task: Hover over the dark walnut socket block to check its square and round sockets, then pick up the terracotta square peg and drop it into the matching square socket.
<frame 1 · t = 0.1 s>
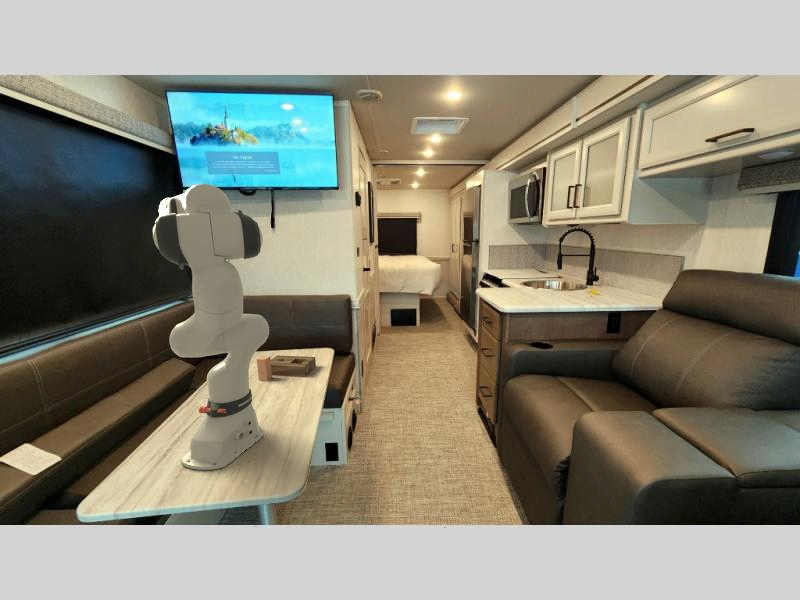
hand: (212, 265, 121), 52 cm above the table, tool tilted 20°, fingers open, 8 cm apart
square peg: (265, 378, 140), on the table
socket block: (290, 370, 149), on the table
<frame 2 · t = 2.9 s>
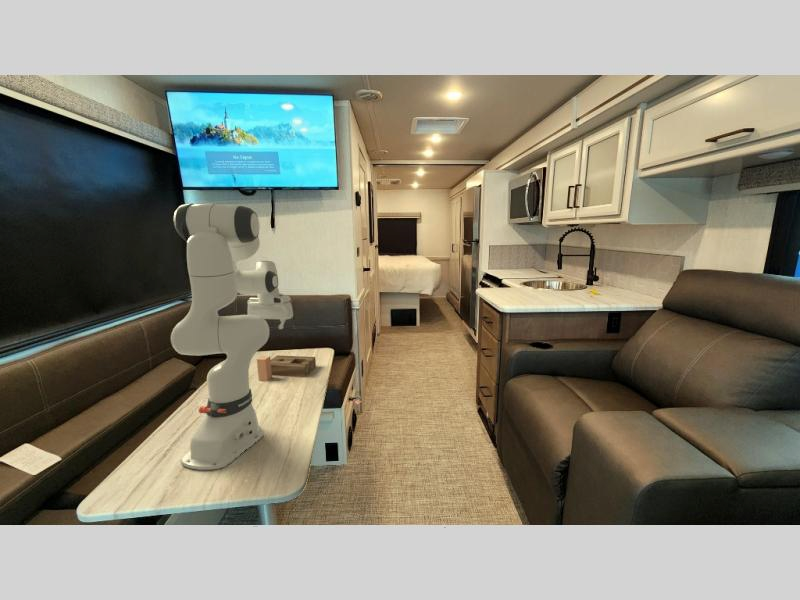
hand: (271, 328, 139), 23 cm above the table, tool pointing down, fingers open, 8 cm apart
nothing on the table moved.
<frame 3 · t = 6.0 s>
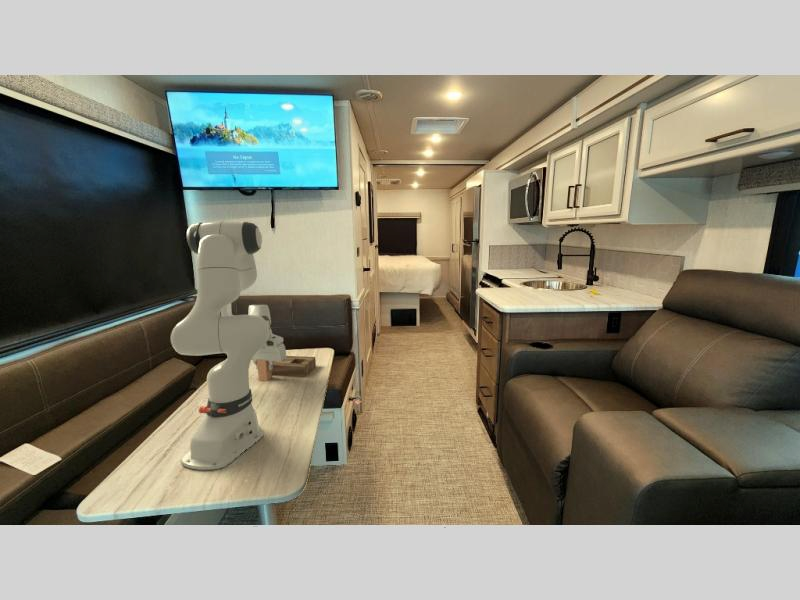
hand: (264, 369, 139), 5 cm above the table, tool pointing down, fingers closed on square peg, 4 cm apart
square peg: (265, 378, 140), on the table, touching gripper
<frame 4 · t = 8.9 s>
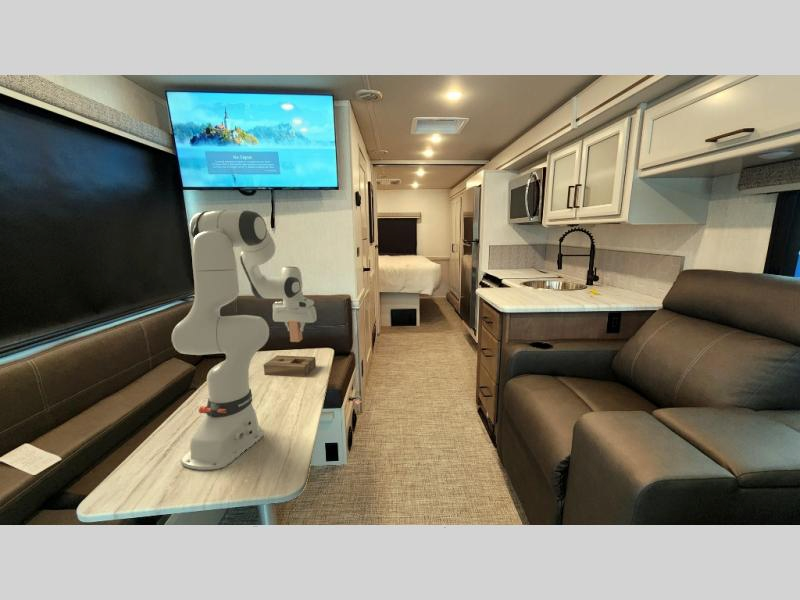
hand: (295, 331, 145), 20 cm above the table, tool pointing down, fingers closed on square peg, 4 cm apart
square peg: (296, 340, 146), point 15 cm above the table, touching gripper
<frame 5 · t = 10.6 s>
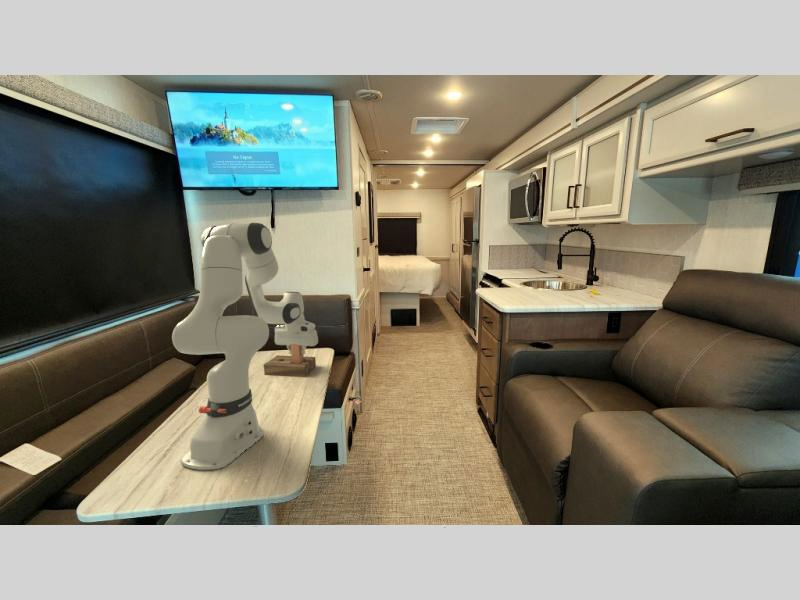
hand: (297, 353, 147), 9 cm above the table, tool pointing down, fingers closed on square peg, 4 cm apart
square peg: (298, 363, 148), point 4 cm above the table, touching gripper
when the fingers open (7 cm above the table, at t = 12.0 s): square peg drops 2 cm, resting on socket block.
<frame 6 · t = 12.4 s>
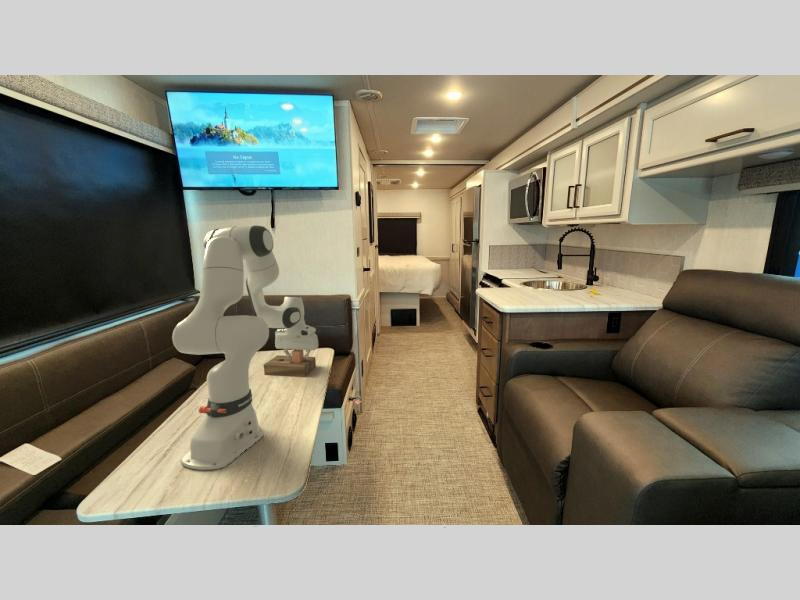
hand: (297, 357, 147), 7 cm above the table, tool pointing down, fingers open, 8 cm apart
square peg: (298, 370, 148), resting on socket block
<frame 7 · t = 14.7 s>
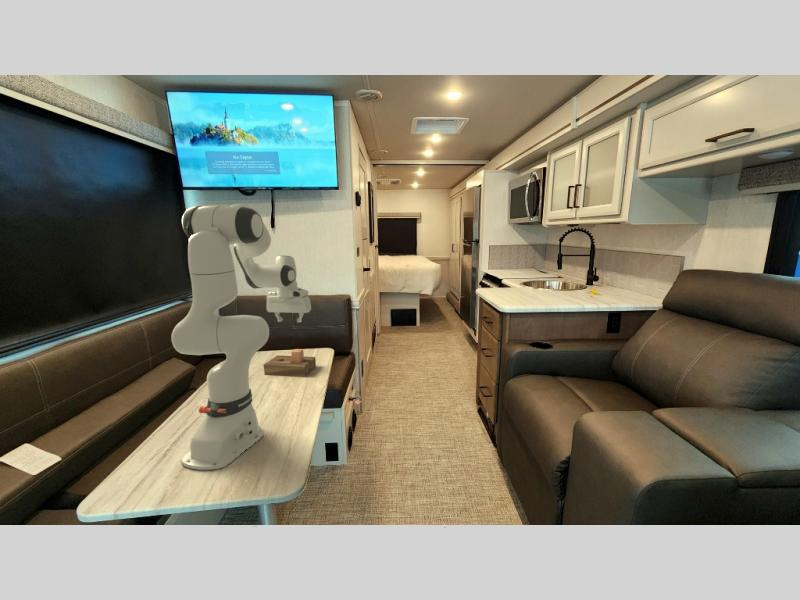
hand: (289, 321, 142), 25 cm above the table, tool pointing down, fingers open, 8 cm apart
nothing on the table moved.
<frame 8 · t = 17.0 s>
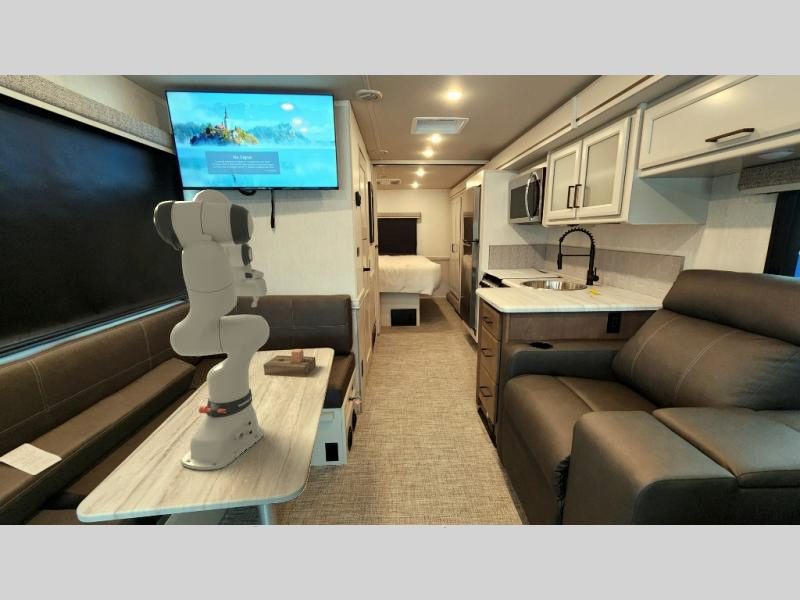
hand: (244, 306, 131), 34 cm above the table, tool pointing down, fingers open, 8 cm apart
nothing on the table moved.
at the end: square peg 0.0 cm from the target spot on the socket block, point 0.2 cm above the socket block's base; square peg tilted 0°; the gripper is holding nothing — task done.
